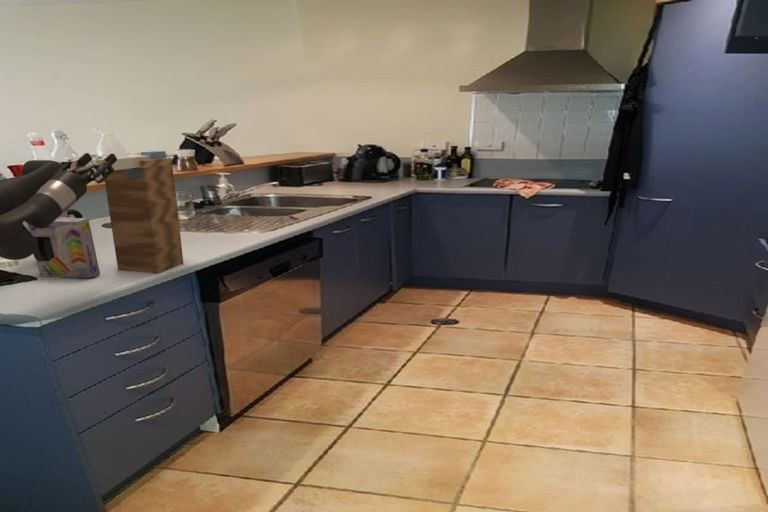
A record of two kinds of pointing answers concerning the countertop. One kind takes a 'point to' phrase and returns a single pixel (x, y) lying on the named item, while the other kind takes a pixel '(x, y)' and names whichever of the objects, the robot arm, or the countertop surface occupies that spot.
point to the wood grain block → (145, 217)
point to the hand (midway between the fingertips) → (101, 156)
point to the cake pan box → (66, 249)
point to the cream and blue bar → (135, 160)
